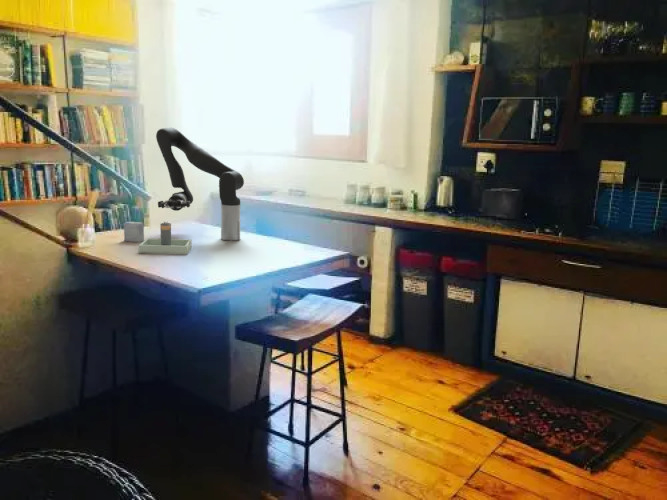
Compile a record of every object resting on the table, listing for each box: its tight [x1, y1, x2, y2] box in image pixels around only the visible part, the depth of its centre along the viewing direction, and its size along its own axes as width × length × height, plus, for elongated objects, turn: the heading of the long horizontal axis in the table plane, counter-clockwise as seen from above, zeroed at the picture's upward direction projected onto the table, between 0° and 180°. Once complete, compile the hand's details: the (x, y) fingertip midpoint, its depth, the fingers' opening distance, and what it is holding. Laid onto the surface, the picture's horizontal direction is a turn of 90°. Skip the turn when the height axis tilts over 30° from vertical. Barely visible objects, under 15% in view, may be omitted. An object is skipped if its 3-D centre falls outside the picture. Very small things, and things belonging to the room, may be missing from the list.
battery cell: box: [159, 221, 172, 246], centre depth 246 cm, size 4×4×12 cm
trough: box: [138, 238, 193, 255], centre depth 247 cm, size 20×15×4 cm
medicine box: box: [123, 221, 145, 243], centre depth 263 cm, size 8×4×9 cm, turn 74°
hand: (171, 205), depth 257 cm, fingers open, 8 cm apart
